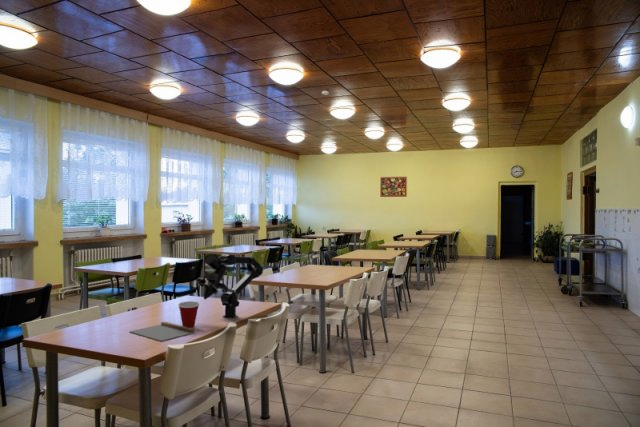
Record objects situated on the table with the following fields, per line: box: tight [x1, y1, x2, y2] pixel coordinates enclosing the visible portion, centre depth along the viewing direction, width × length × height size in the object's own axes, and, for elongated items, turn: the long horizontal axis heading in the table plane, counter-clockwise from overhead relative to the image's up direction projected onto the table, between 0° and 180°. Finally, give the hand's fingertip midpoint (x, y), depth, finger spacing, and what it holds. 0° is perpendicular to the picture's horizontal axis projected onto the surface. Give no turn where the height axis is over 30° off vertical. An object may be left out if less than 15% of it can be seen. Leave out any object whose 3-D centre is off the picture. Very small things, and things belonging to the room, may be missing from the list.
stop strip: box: [160, 320, 195, 334], centre depth 223 cm, size 2×24×2 cm, turn 54°
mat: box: [128, 324, 193, 343], centre depth 215 cm, size 17×26×1 cm, turn 54°
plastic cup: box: [177, 300, 201, 328], centre depth 228 cm, size 11×11×12 cm
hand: (204, 298), depth 237 cm, fingers closed
